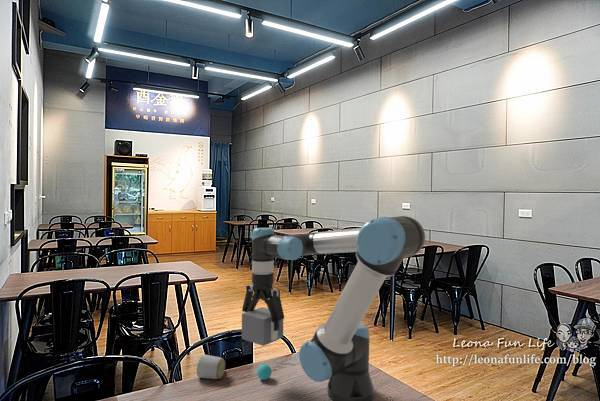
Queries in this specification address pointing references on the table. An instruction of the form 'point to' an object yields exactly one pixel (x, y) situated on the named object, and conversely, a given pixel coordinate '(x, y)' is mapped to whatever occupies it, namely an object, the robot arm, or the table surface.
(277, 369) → the table surface
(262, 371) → the ball
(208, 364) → the ceramic mug
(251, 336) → the grey cube
